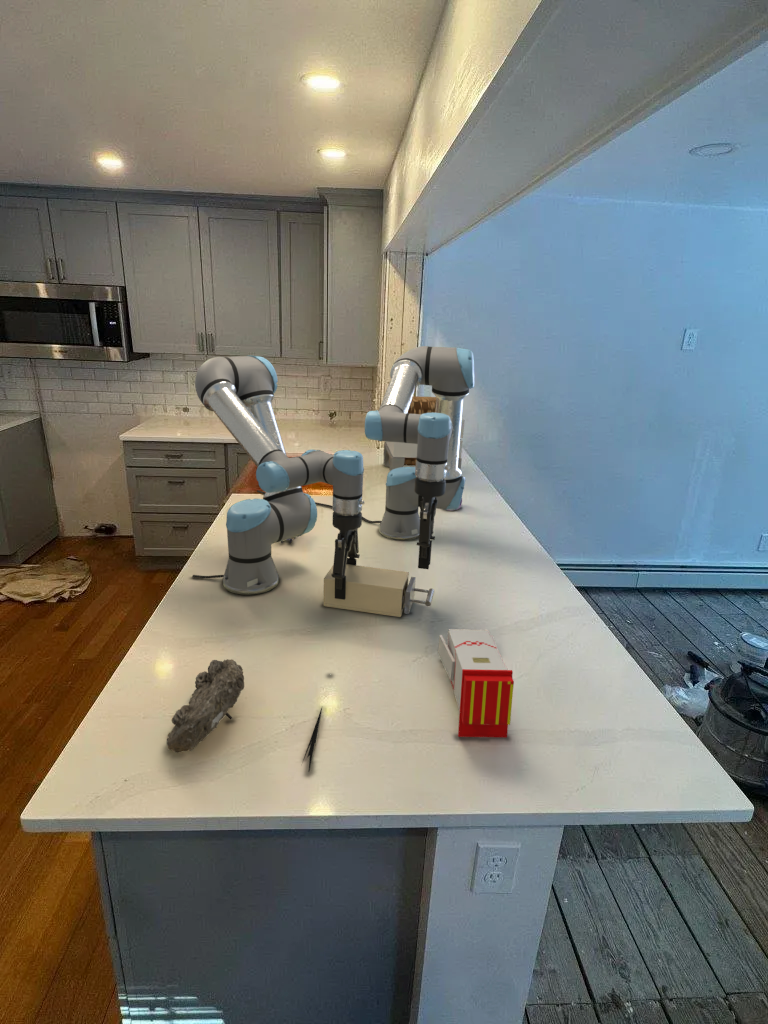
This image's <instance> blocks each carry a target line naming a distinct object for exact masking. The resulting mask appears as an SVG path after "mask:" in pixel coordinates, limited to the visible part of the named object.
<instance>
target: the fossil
mask: <svg viewBox="0 0 768 1024" xmlns="http://www.w3.org/2000/svg"><path fill="white" fill-rule="evenodd" d="M243 670H244V669H243V667H242V665H240V664H237V662H236V661H235V660H234V659H232V658H231V659H227V658H226V659H224V660H223V661H222V660H217V659H212V660H211V661H210V663H209V665H208V666H207V671H201V672H199V673H198V674H197V675H196V676H195V680H194V684H195V685H194V687H195V689H194V690H193V693H192V694H191V697H190V698H189V700H188V704H184V705H182V706H181V707H180V709H177V710H176V711H175V713H174V715H173V716H172V718H171V723H172V724H173V727H172V730H171V731H170V732H168V734H167V738H166V741H167V742H166V745H167V749H168V750H169V751H173V752H174V753H176V754H178V753H182V752H188V751H189V752H192V751H193V750H195V748H196V747H197V746H199V744H200V743H201V742H203V741H204V740H205V739H206V738H207V737H208V736H209V735H210V734H211V733H212V732H214V730H215V729H217V727H218V726H219V724H220V722H221V721H222V720H223V719H224V718H225V716H226V717H227V719H229V720H233V717H232V715H230V714H229V710H230V709H231V708H234V706H235V704H236V703H237V702H238V699H239V697H240V695H241V693H242V691H243V690H245V689H244V688H245V675H244V671H243Z"/></svg>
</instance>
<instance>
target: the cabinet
mask: <svg viewBox="0 0 768 1024" xmlns="http://www.w3.org/2000/svg"><path fill="white" fill-rule="evenodd" d="M332 574H333V565H332V566H331V568H330V569H328V572H327V573H326V575H325V576H324V577H323V607H328V608H335V609H342V610H348V611H355V612H362V613H369V614H377V615H382V616H383V615H384V616H391V617H397V618H401V617H402V615H403V613H404V610H405V597H404V600H403V602H402V594H403V589H404V586H405V595H406V590H407V587H408V584H409V576H410V573H409V571H404V570H403V571H402V570H394V569H387V568H379V567H373V566H371V567H370V566H365V565H357V564H356V565H350V564H346V570H345V576H346V596H345V600H343V599H336V598H335V578H333V577H332Z"/></svg>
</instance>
